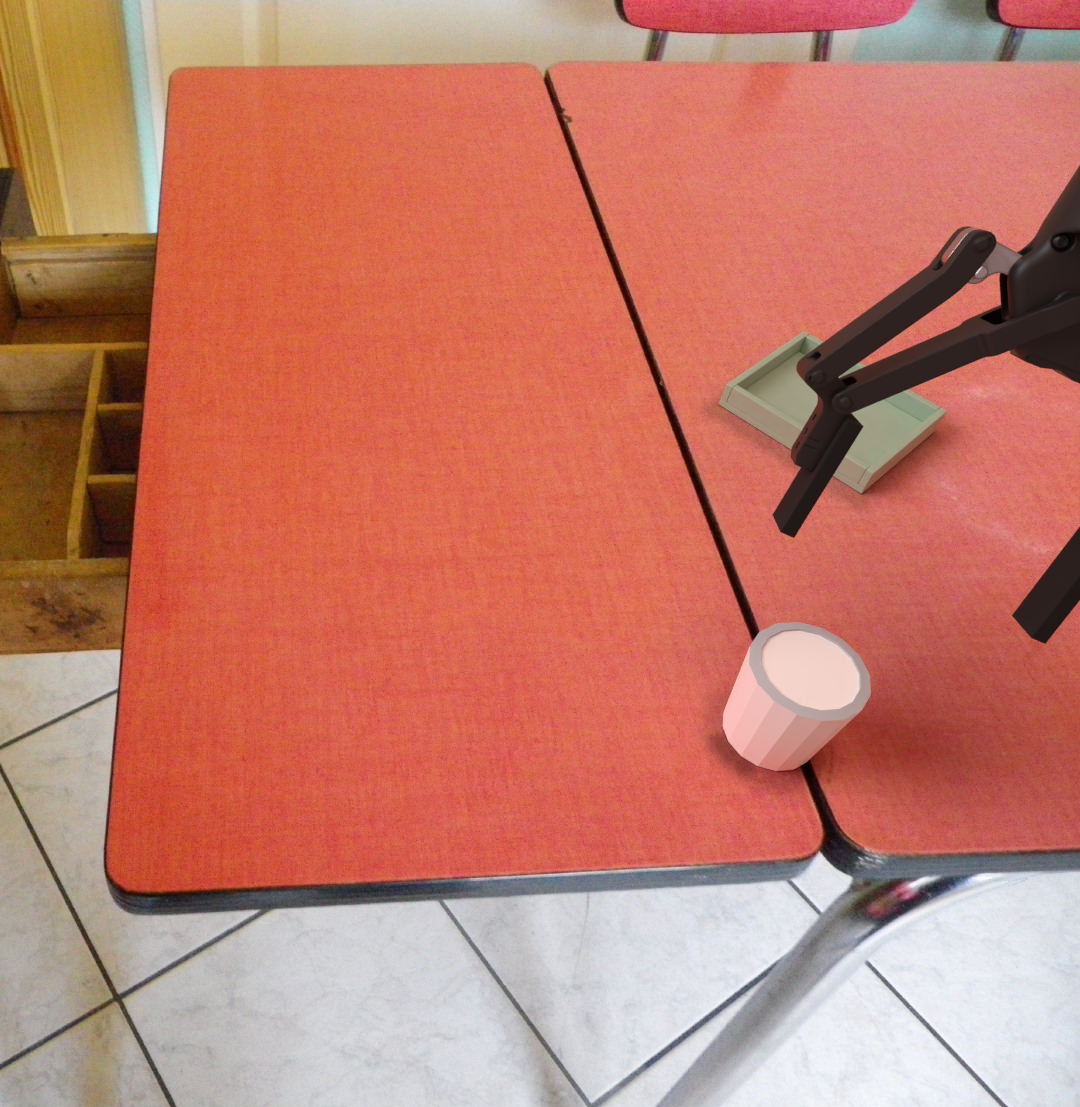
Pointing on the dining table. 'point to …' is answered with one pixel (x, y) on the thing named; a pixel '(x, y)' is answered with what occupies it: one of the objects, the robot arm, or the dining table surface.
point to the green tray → (787, 403)
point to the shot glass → (793, 695)
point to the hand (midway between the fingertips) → (903, 578)
